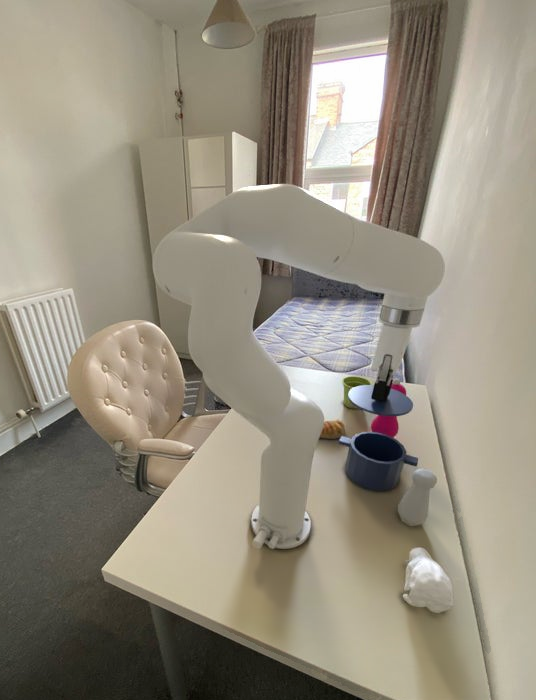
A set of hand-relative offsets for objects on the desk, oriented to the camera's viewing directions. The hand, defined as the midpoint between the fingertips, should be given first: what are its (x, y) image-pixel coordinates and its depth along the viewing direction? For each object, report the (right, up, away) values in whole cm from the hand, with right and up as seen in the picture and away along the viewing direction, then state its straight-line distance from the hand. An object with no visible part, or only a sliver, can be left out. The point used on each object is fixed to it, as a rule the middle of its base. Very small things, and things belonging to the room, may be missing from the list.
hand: (380, 396), depth 74 cm
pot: (+2, -20, +11) cm, 22 cm away
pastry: (-4, -11, +26) cm, 29 cm away
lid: (0, -1, +1) cm, 1 cm away
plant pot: (+8, -3, +41) cm, 42 cm away
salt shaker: (+6, -27, -2) cm, 27 cm away
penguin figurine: (0, -34, -15) cm, 37 cm away
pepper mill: (+10, -13, +23) cm, 28 cm away
